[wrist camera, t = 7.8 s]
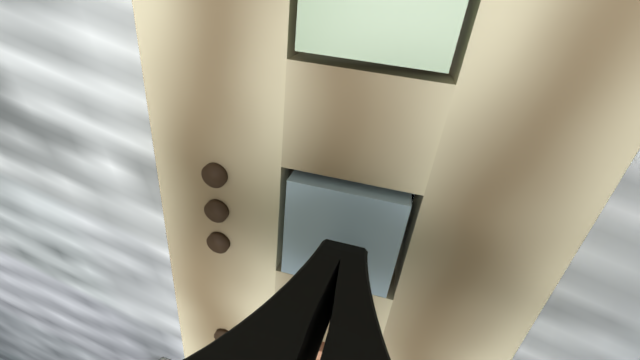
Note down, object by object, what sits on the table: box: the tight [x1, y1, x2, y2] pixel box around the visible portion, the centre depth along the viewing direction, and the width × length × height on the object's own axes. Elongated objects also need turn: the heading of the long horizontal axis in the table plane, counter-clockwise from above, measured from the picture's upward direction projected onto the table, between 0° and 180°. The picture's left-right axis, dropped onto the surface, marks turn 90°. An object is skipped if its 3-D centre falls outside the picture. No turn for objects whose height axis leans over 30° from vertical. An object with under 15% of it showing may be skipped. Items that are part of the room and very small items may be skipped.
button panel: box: [132, 0, 640, 360], centre depth 13 cm, size 14×26×2 cm, turn 174°
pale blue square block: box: [281, 170, 412, 298], centre depth 13 cm, size 4×4×2 cm
